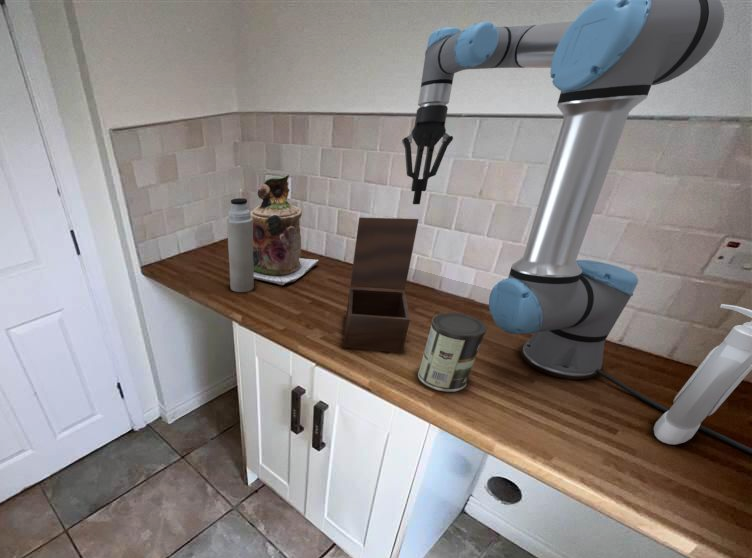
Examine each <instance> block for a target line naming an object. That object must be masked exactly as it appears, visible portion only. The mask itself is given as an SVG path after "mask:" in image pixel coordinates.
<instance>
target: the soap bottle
mask: <svg viewBox="0 0 752 558" xmlns="http://www.w3.org/2000/svg"><path fill="white" fill-rule="evenodd" d="M719 308H720V309H727V310H731V311H735V312H738V313H740V314H742V315H744V316H747V317H749V318H751V319H752V309H748V308H745V307H742V306H738V305H732V304H725V303H721V304H720V306H719ZM751 371H752V320H750V321H748V322H744V323H742V324H738V325H734V326H733V327H732V328H731V330H730V331H729V332H728V334H727V335H726V336H725V337H724V339H723V341H722V342H721V343H720V344H719V345H717V346H715V347H714V348H713V349H711V350H710V351H709V353H707V355H706V356H705V358H704V359H703V360H702V361H701V363H700V364H699V365H698V366H697V368H696V370H695V371H694V372H693V373H692V375H691V376H690V377H689V378H688V380H687V381H686V382H685V384H684V385H683V386H682V388H681V389H680V390H679V391H678V392H677V394H676V396H675V397H674V398H673V402H672V403H673V404H672V405H671V407H670V408H669V411H667V412H664V413H663V414H662V415H661V416H660V417H659V418H658V419H657V421H655V423H654V426H653V434H654V436H655V437H656V439H657V440H658V441H660V442H662V443H664V444H667V445H680V444H683V443H686V442H688V441H690V440H691V439H692V438H693V437H694V436H695V434H696V433H697V432H698V430H699V427H700V425H702V422H703V421H704V420H705V419H706V418H707V416H708V417H710V416H711V415H713V414H714V413H715V412H717V410H718V409H719V408H720V406H721V405H722V404H723V403H725V401H726V400H727V399H728V397H729V396H730V395H731V394H732V393H733V392H734V390H735V389H736V388H737V387H738V386H739V385H740V384H741V383H742V381H743V380H744V379H745V378H746V377H747V376H748V374H749V373H750V372H751Z"/></svg>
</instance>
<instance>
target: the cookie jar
mask: <svg viewBox="0 0 752 558" xmlns="http://www.w3.org/2000/svg"><path fill="white" fill-rule="evenodd" d="M289 177H290V175H289V174H286V175H284V176H282V177H270V178H268V179H266V180H265V181H264V183H263V184H262V185H261V186H260V187H258V189H257V197H258V198H259V199H260V200H262V202H260V203H261V204H260V205H257V206H256V207H254V209H253V210H250V213H251V215H250V217H251V218H252V219H253V268H254V280H259V281H264V282H268V283H273V284H276V285H280V286H284V285H285V284H289V283H293V282H294V283H295V282H296V281H297V280H298V279H300V278H301V277H302V276H304V275H306V274H307V272H309V271H310V270H311V269H312V268H313V267H315V266H317V264H318V262H319V259H315V258H314V259H311V258H303V257H302V258H301V256H302V236H301V223H300V219H301V217H302V214H303V210H302V209H301V208H300V207H297V206H295V205H291V204H290V203H289V201H287V199H288V196H289V193H290V188H289V182H288V180H289Z"/></svg>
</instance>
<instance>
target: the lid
mask: <svg viewBox="0 0 752 558" xmlns="http://www.w3.org/2000/svg"><path fill="white" fill-rule="evenodd" d="M419 220H420V219H419V218H402V217H400V218H399V217H367V216H366V217H365V216H360V217H358V224H357V229H356V231H357V232H356V238H355V245H354V246H355V247H354V255H353V260H352V261H353V262H352V269H351V278H350V285H349V286H350V287H351V288H367V289H383V290H399V291H405V290H406V286H407V282H408V278H409V277H408V276H409V271H410V267H411V260H412V256H413V252H414V251H413V250H414V246H415V240H416V235H417V231H418V230H417V229H418V225H419Z"/></svg>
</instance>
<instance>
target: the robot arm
mask: <svg viewBox="0 0 752 558" xmlns="http://www.w3.org/2000/svg"><path fill="white" fill-rule="evenodd" d="M724 21H725V9H724V6H723V3H722V1H721V0H594V1H593V2H592V3H591V4H589V5H588V6H587V7H586V8H584V10H583V11H581V12H580V13H579V14H578V16H577V18H576V19H575V20H572V21H571V20H570V21H562V22H559V21H558V22H551V23H541V24H529V26H528V25H513V26H512V25H511V26H496V25H494V23H492V22H491V21H487V20H485V21H481V22H478V23H473V24H471V25H470V26H468V27H466V28H465V29H462V30H461V29H460V28H459V27H455V26H454V27H453V26H450V27H449V26H448V27H442V28H440V29H436V30H433V31H432V33H430V35H429V36H428V40H427V45H426V49H425V52H424V61H423V69H422V76H421V83H420V88H419V95H418V102H417V106H419V107H418V109H416V114H415V120H414V126H413V129H412V130H411V132H410V134H409V135H407V136H405V137H404V138H402V141H401V143H402V145H403V147H404V156H405V157H404V158H405V168H406V169H405V171H406V176H407V177H409V178H411V179H412V182H411V188H410V190H411V192H414V193H413V200H412V204H413V205H420V204H421V199H422V194H423V192H426V191H427V186H428V181H429V179H430V178H431V177H435V176H436V175H437V172H439V171H438V170H439V168H440V167H441V163H442V161H443V158H444V157H445V153H446V151H447V149H448V146H449V145H450V144H451V142H453V140H454V136H453V135H449V134H448V133H447V132H446V131H447V129H446V120H447V116H448V109H449V108H448V106H447V105H448V104H449V103H450V100H451V99H450V98H451V93H452V87H453V82H454V77H455V74H456V73H459V72H462V71H465V70H485V69H486V70H487V69H509V68H510V69H524V68H525V69H526V68H527V69H528V68H529V69H533V68H534V69H550V71H549V74H550V78H551V79H552V80H551V82H552V85H553V87H555V88H556V89H558V91H560V94H559V97H558V100H557V104H556V107H557V108H558V110H559V111H560V112H561V114H562V115H563V120H562V123H561V126H560V130H559V133H558V137H557V140H556V144H555V147H554V150H553V154H552V157H551V160H550V164H549V168H548V171H547V175H546V178H545V181H544V183H543V187H542V192H541V195H540V199H539V201H538V205H537V208H536V211H535V215H534V219H533V222H532V225H531V229H530V232H529V236H528V239H527V242H526V246H525V249H524V253H523V256H522V257H521V258H520V259H518V260H516V261H515V262H513V263H512V264H511V266H510V270H509V273H508V277H507V278H504V279H502V280H500V281H498V282H497V284H495V285H494V286H493V287H492V289H491V291H490V293H489V297H488V308H489V313H490V316H491V317H492V320H493V322H494V323H495V324H496V326H497V327H498V329H500V330H502V331H504V332H505V333H508V334H511V335H522V334H523V335H532V336H531V337H530V338H529V339H528V340H527V341H525V344H524V345H523V347H522V348H521V350H520V351H521V352H520V355H521V358H522V359H523V361H524V362H525V363H526V364H527V365H529V366H530V367H531V368H533V369H535V370H537V371H539V372H542V373H544V374H547V375H549V376H552V377H555V378H561V379H566V380H573V381H574V380H576V381H577V380H578V381H579V380H581V381H582V380H588V379H592V378H594V377H596V376H597V375H599V376H602V377H603V378H605V379H607V380H608V381H610V382H611V383H613V384H615V385H616V386H618V387H619V388H621V389H623V390H624V391H626V392H628V394H629V393H630V394H631V395H633V396H634V397H636V398H638V399H639V400H641V401H643V402H644V403H647V404H648V405H650V406H653V407H654V408H656V409H657V410H660V411H661V412H664V413H665V412H667V411H669V410H670V408H667V407H665V406H663V405H662V404H660V403H658V402H656V401H655V400H652V399H650V398H648V397H647V396H645V395H643V394H642V393H640V392H638V391H636V390H634V389H632V388H631V387H629V386H628V385H626V384H625V383H623V382H621V380H618V379H617V378H615V377H613V376H612V375H610V374H608V373H606V372H604V371H603V370H602V366H603V359H604V350H605V343H606V340H607V338H608V336H609V335H610V333H611V332H612V330H613V328H614V327H615V325H616V323H617V321H618V319H619V318H620V316H621V315H622V312H623V311H624V310H625V308H626V306H627V304H628V303H629V301H630V299H631V298H632V297H633V296H634V291H635V290H636V288H637V285H638V283H639V278H638V276H637V275H636V274H635V273H634V272H632V271H630V270H628V269H626V268H623V267H620V266H617V265H614V264H611V263H610V264H609V263H605V262H601V261H596V260H590V259H577V258H578V256H579V253H580V250H581V248H582V245H583V242H584V239H585V236H586V234H587V231H588V229H589V226H590V223H591V219H592V217H593V214H594V212H595V209H596V206H597V204H598V200H599V197H600V194H601V193H602V189H603V186H604V183H605V181H606V178H607V175H608V172H609V170H610V167H611V164H612V161H613V158H614V157H615V153H616V151H617V147H618V145H619V142H620V139H621V137H622V134H623V130H624V128H625V125H626V123H627V120H628V117H629V115H630V112H631V111H632V110H633V109H634V108H635V107H637V106H638V105H640V104H641V103H642V102H644V101H645V100H646V99H647V98H648V96H649V94H650V90H651V87H652V86H656V85H660V84H663V83H667V82H669V81H672V80H674V79H676V78H678V77H680V76H682V75H683V74H685V73H687V72H688V71H689V70H691V69H692V68H693V67H695V66H696V65H697V64H698V63H700V61H701V60H702V59H703V58H704V57H706V55H708V53H709V52H710V51H711V49H713V47H714V46H715V44H716V42H717V40H718V39H719V37H720V34H721V32H722V29H723V27H724ZM440 140H441V144H440V146H439V150H438V152H437V154H436V157H435V159H434V162H433V164H432V161H433V155H434V151H435V146H436V145H437V144H438V143H439V141H440ZM413 141H414V143H415V145H416V146H417V148H416V155H415V157H416V158H415V161H414V167H413V158H412V157H413V156H412V145H411V144H412V143H413ZM425 147H426V154H425V159H424V160H425V161H424V166H423V170H422V171H423V172H422V178H419V177H420V175H421V173H420V172H421V167H422V162H423V161H422V160H423V156H424V150H425ZM698 430H699V431H701V432H703V433H706V434H707V435H709V436H712V437H714V438H716V439H718V440H721V441H722V442H724V443H726V444H729V445H731V446H733V447H735V448H737V449H740V450H742V451H744V452H746V453H748V454H750V455H752V448H751V447H750V446H747V445H745V444H743V443H740V442H738V441H736V440H734V439H732V438H729V437H728V436H725V435H724V434H721V433H719V432H717V431H715V430H713V429H711V428H708V427H706V426H704V425H702V424H700V427H699V429H698Z"/></svg>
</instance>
